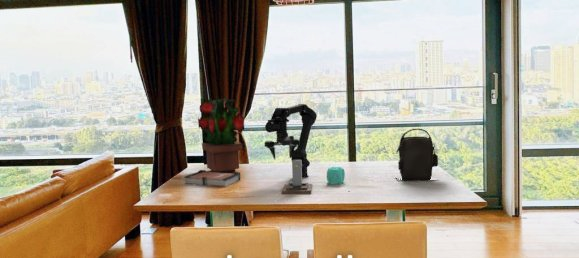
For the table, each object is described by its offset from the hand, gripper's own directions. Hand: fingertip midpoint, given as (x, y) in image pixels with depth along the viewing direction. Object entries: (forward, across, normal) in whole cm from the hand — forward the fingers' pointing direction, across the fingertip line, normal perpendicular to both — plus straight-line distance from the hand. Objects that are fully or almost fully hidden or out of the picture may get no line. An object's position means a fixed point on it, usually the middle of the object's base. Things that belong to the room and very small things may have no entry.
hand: (282, 158), depth 262 cm
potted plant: (+13, -24, +46) cm, 54 cm away
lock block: (+12, 0, -22) cm, 25 cm away
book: (+14, -36, +18) cm, 43 cm away
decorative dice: (+13, +25, -15) cm, 32 cm away
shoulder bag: (+13, +68, -28) cm, 75 cm away
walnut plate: (+13, 0, -22) cm, 26 cm away
